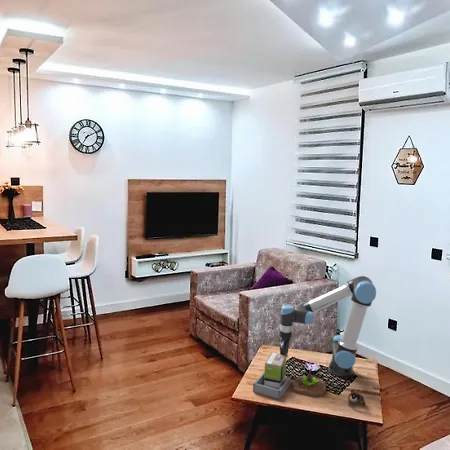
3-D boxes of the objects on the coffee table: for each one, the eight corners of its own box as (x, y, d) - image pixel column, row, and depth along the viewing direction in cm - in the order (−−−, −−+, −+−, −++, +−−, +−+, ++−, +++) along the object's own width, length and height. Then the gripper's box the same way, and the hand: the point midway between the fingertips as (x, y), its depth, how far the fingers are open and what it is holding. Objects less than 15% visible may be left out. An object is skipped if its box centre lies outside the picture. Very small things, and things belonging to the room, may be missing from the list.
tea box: (269, 374, 282) (270, 352, 280) (285, 377, 279) (287, 355, 277) (263, 386, 268) (264, 362, 266) (280, 389, 265) (281, 365, 263)
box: (290, 384, 271) (291, 376, 271) (279, 399, 255) (280, 391, 254) (265, 377, 278) (265, 370, 278) (252, 391, 262) (253, 383, 261)
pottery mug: (369, 408, 250) (366, 399, 246) (354, 416, 250) (350, 406, 246) (359, 392, 261) (356, 383, 257) (344, 399, 260) (340, 390, 257)
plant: (329, 384, 274) (330, 366, 273) (323, 400, 256) (324, 381, 255) (296, 377, 282) (297, 359, 280) (288, 391, 264) (289, 373, 262)
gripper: (283, 325, 287) (281, 361, 291) (276, 332, 275) (273, 369, 279) (295, 328, 283) (292, 364, 287) (288, 335, 272) (285, 372, 276)
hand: (283, 366), depth 283 cm, fingers closed
